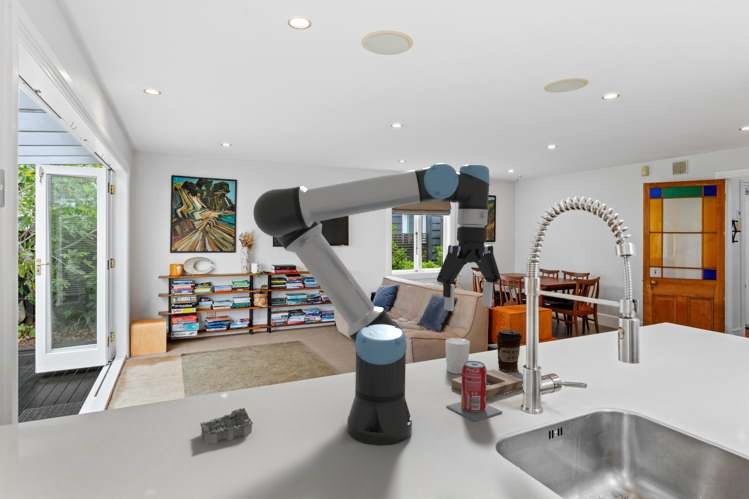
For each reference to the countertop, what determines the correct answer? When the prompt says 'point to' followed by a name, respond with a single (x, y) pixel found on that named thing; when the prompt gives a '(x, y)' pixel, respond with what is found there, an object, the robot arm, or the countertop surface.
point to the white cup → (456, 354)
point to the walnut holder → (500, 381)
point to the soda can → (473, 386)
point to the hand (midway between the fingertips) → (468, 308)
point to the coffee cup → (508, 349)
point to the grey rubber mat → (474, 417)
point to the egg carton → (227, 427)
